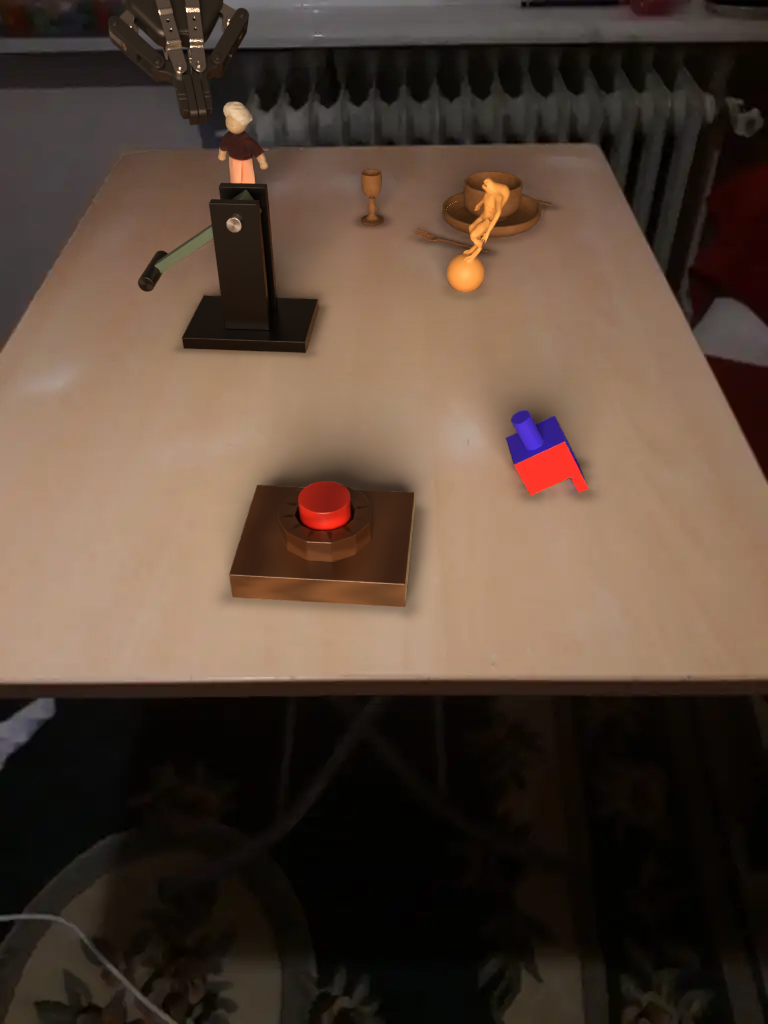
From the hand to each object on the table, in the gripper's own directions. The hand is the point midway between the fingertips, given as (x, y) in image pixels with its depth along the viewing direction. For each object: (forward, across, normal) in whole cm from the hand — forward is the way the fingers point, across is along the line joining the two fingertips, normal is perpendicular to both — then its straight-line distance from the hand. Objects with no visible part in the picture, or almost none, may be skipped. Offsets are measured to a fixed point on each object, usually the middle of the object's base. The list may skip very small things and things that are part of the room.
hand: (199, 120), depth 84 cm
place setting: (+2, +33, +26) cm, 42 cm away
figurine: (+15, +27, +12) cm, 33 cm away
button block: (+40, +1, -13) cm, 42 cm away
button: (+38, +1, -16) cm, 41 cm away
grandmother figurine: (-6, +8, +35) cm, 36 cm away
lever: (+9, -1, +7) cm, 12 cm away
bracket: (+16, +3, +12) cm, 20 cm away
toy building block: (+38, +20, -11) cm, 44 cm away
